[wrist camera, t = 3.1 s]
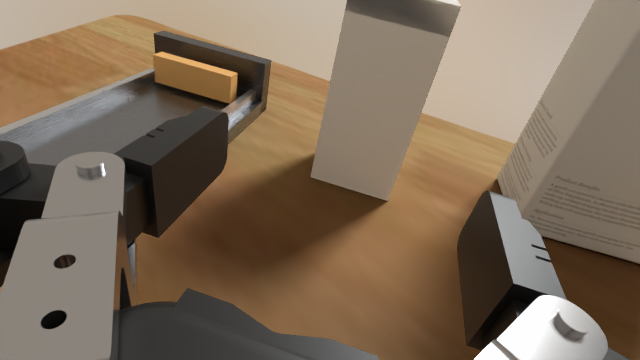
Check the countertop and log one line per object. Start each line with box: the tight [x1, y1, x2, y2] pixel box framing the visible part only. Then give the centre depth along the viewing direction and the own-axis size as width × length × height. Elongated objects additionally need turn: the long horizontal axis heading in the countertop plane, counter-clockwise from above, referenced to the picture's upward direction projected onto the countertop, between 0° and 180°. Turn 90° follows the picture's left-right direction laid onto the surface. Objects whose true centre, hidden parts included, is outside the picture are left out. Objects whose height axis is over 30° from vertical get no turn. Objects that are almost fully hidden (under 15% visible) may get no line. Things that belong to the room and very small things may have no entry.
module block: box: [310, 0, 461, 201], centre depth 21 cm, size 5×4×11 cm
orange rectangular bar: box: [153, 52, 238, 104], centre depth 26 cm, size 6×1×2 cm, turn 75°
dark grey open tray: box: [0, 31, 271, 166], centre depth 22 cm, size 9×15×4 cm, turn 165°
